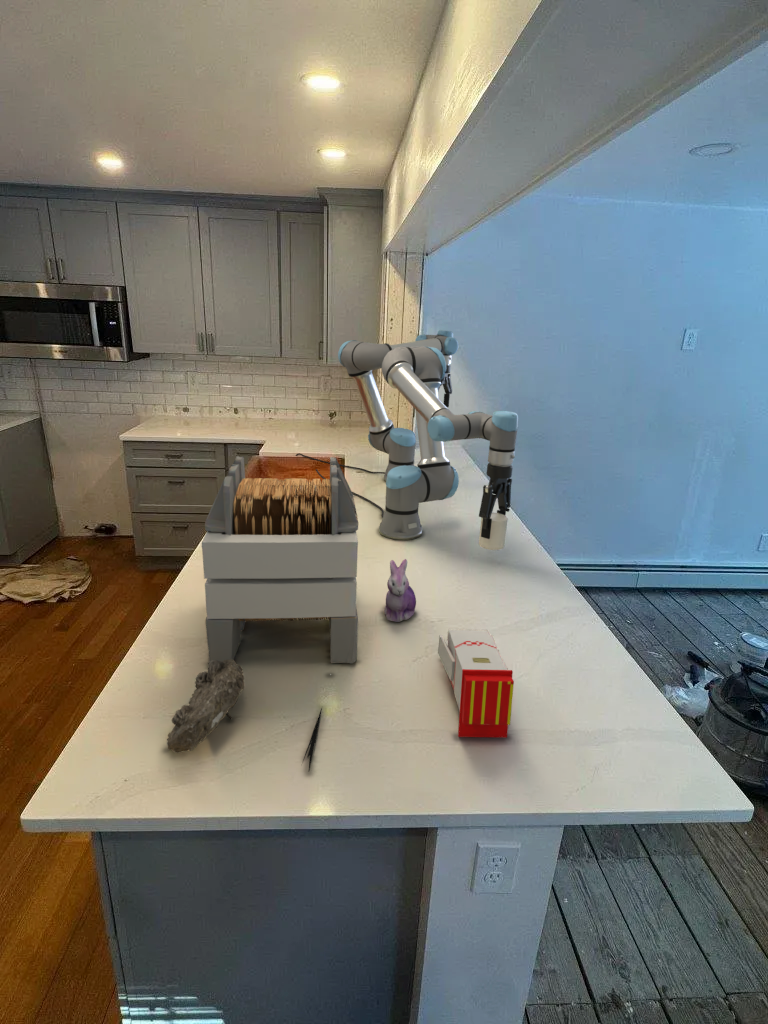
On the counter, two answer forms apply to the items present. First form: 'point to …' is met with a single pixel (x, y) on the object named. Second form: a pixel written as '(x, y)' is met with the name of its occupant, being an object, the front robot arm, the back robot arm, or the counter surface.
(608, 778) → the counter surface
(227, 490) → the record crate stand
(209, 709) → the fossil
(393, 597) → the figurine
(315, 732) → the feather
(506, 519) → the cylinder
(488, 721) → the toy
